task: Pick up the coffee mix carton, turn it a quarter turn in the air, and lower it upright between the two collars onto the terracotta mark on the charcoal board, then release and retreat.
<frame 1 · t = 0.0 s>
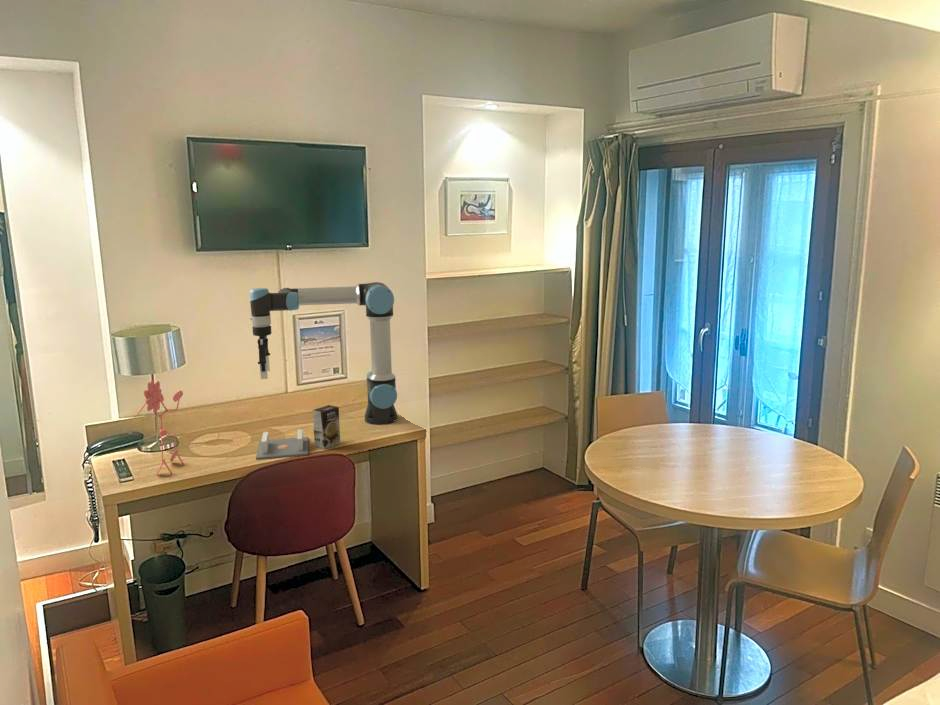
hand: (265, 374, 290), 28 cm above the table, fingers open, 13 cm apart
figurine: (161, 469, 263), on the table
collar base: (283, 448, 283), on the table
coffee box: (327, 445, 287), on the table
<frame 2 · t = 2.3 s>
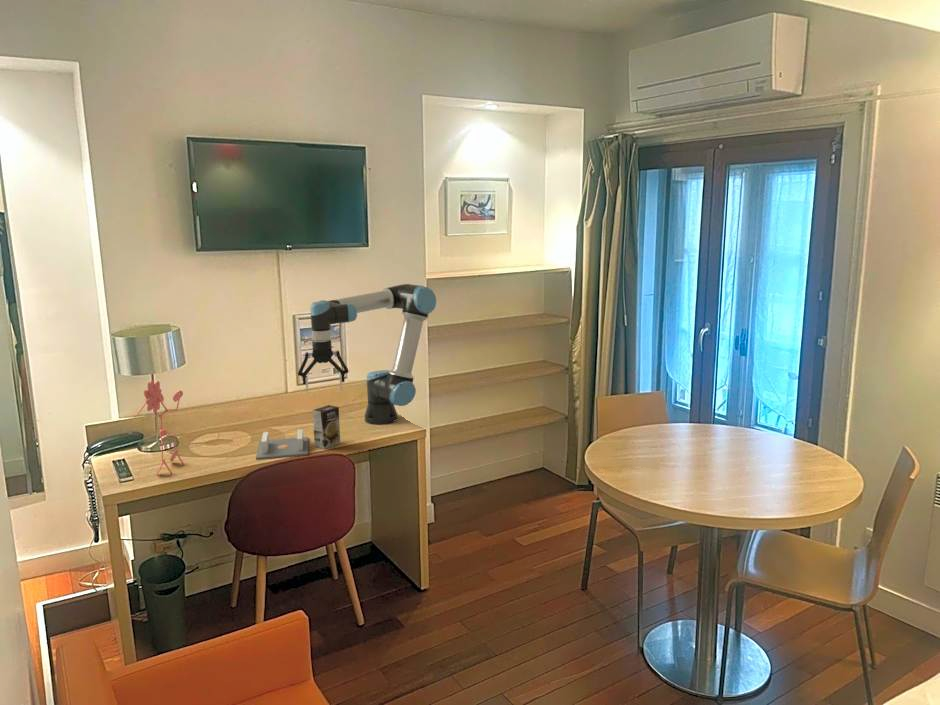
hand: (324, 390, 281), 24 cm above the table, fingers open, 13 cm apart
nothing on the table moved.
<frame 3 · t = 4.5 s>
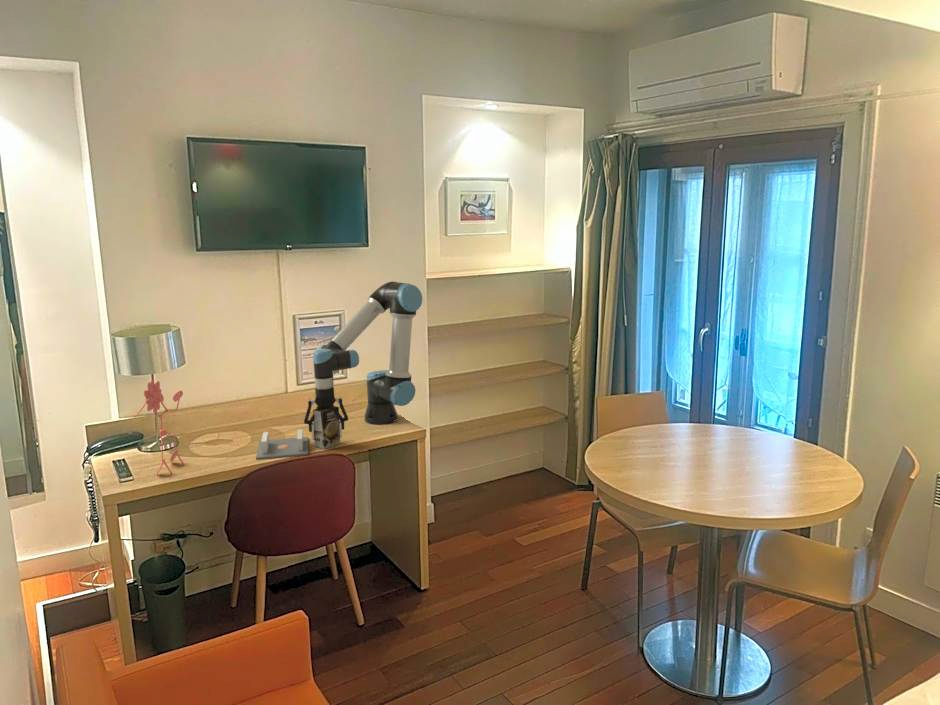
hand: (327, 437, 286), 3 cm above the table, fingers closed on coffee box, 11 cm apart
coffee box: (327, 445, 287), on the table, touching gripper
everything else where it was.
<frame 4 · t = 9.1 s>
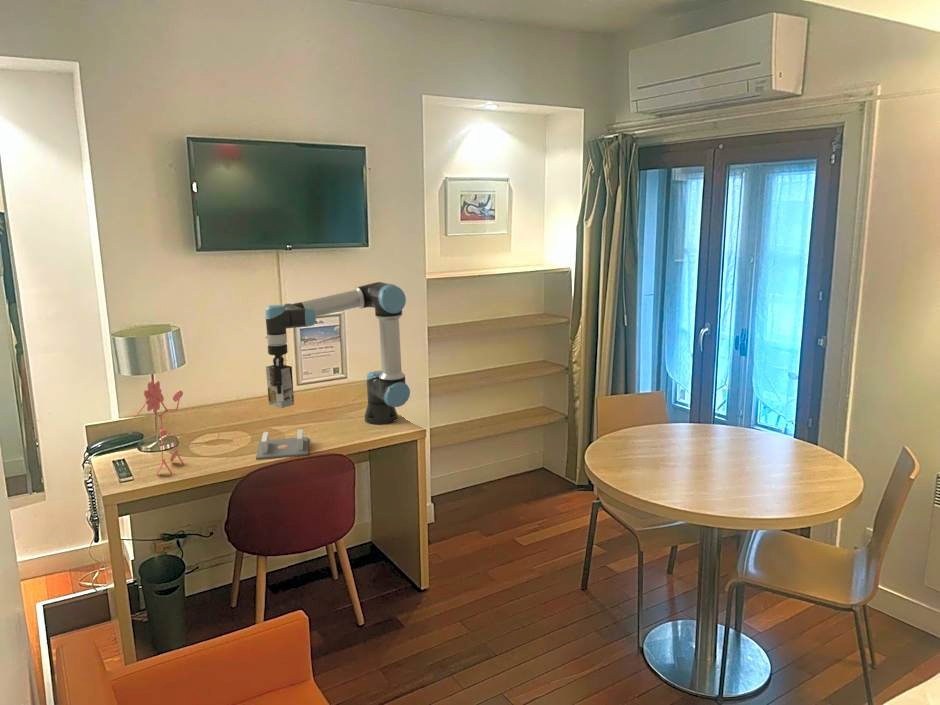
hand: (280, 397, 278), 22 cm above the table, fingers closed on coffee box, 11 cm apart
coffee box: (281, 405, 279), point 19 cm above the table, touching gripper
everything else where it was.
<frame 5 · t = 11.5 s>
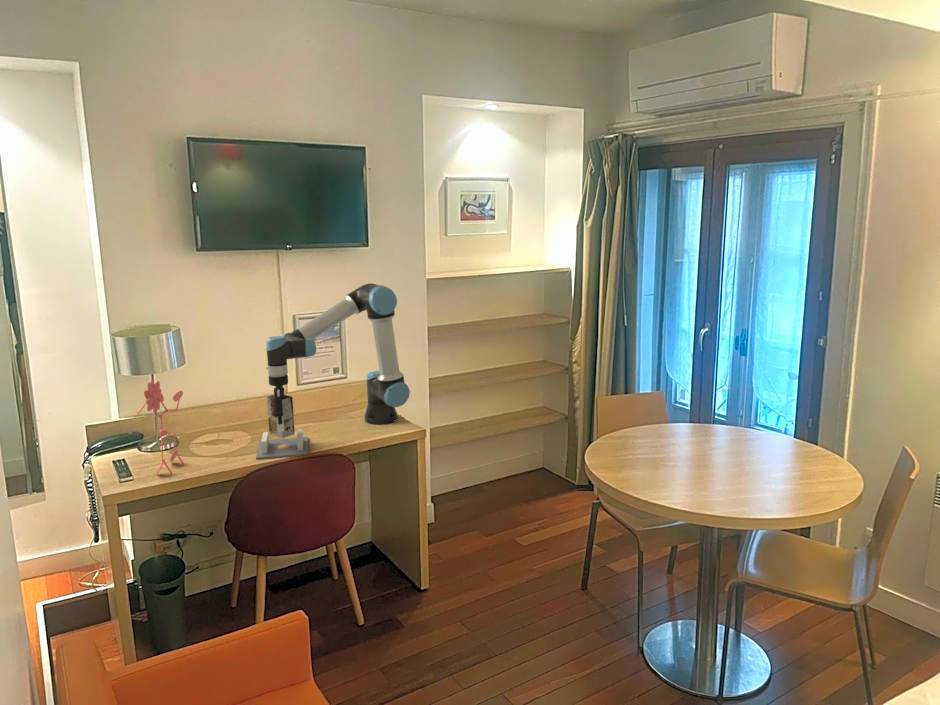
hand: (281, 426, 281), 9 cm above the table, fingers closed on coffee box, 11 cm apart
coffee box: (282, 434, 282), point 6 cm above the table, touching gripper
everything else where it was.
when the fingers open (5 cm above the table, at t = 13.5 s): coffee box stays where it is, resting on collar base.
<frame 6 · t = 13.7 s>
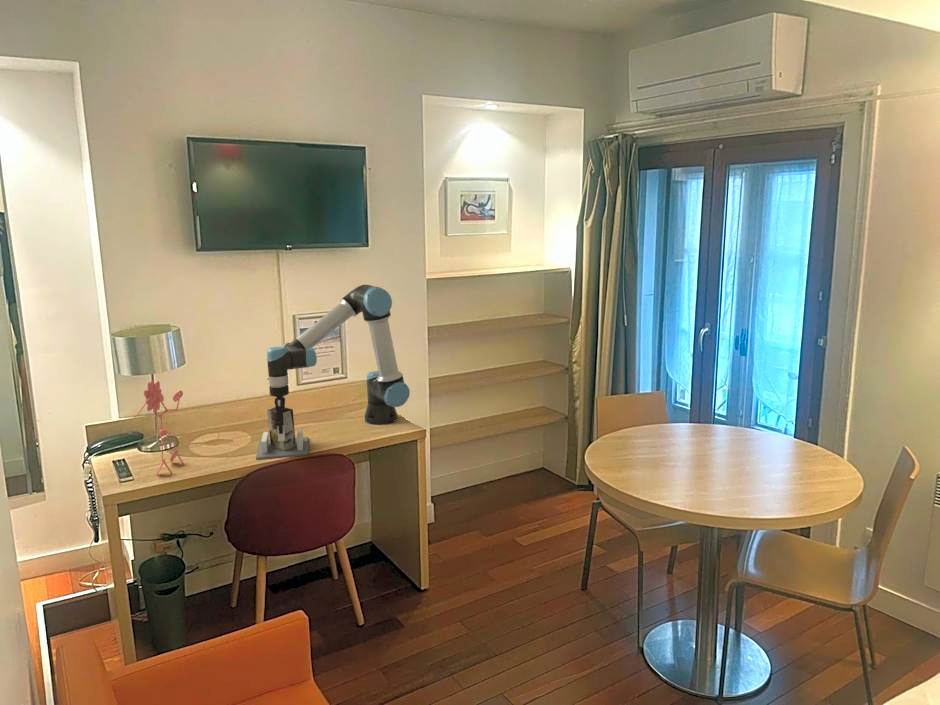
hand: (282, 435, 282), 6 cm above the table, fingers open, 13 cm apart
coffee box: (283, 446, 283), point 1 cm above the table, touching collar base
everything else where it was.
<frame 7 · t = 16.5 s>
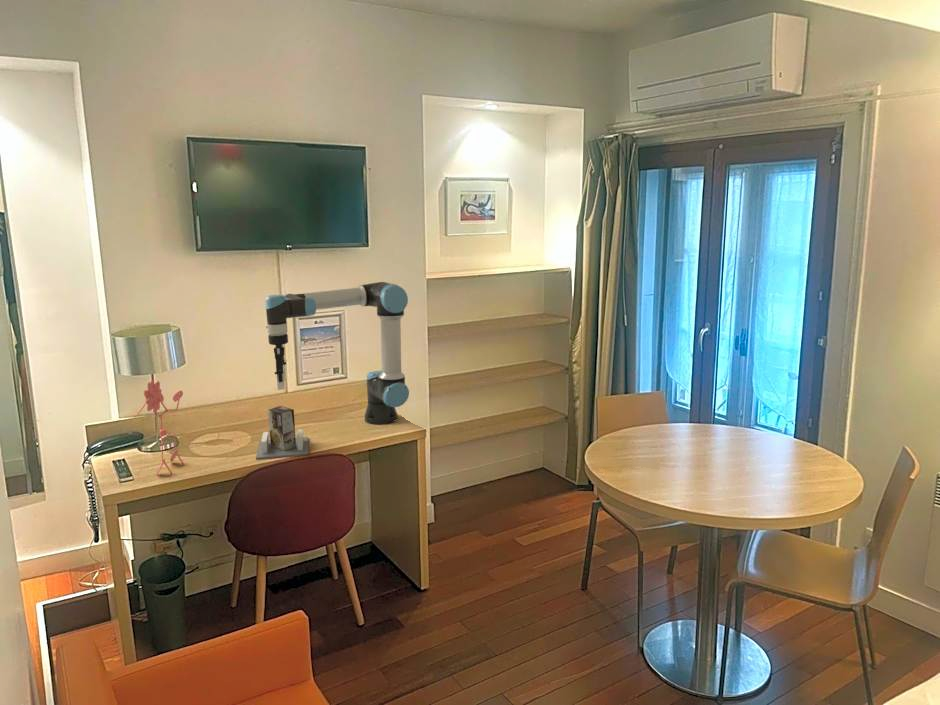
hand: (281, 385, 279), 27 cm above the table, fingers open, 13 cm apart
nothing on the table moved.
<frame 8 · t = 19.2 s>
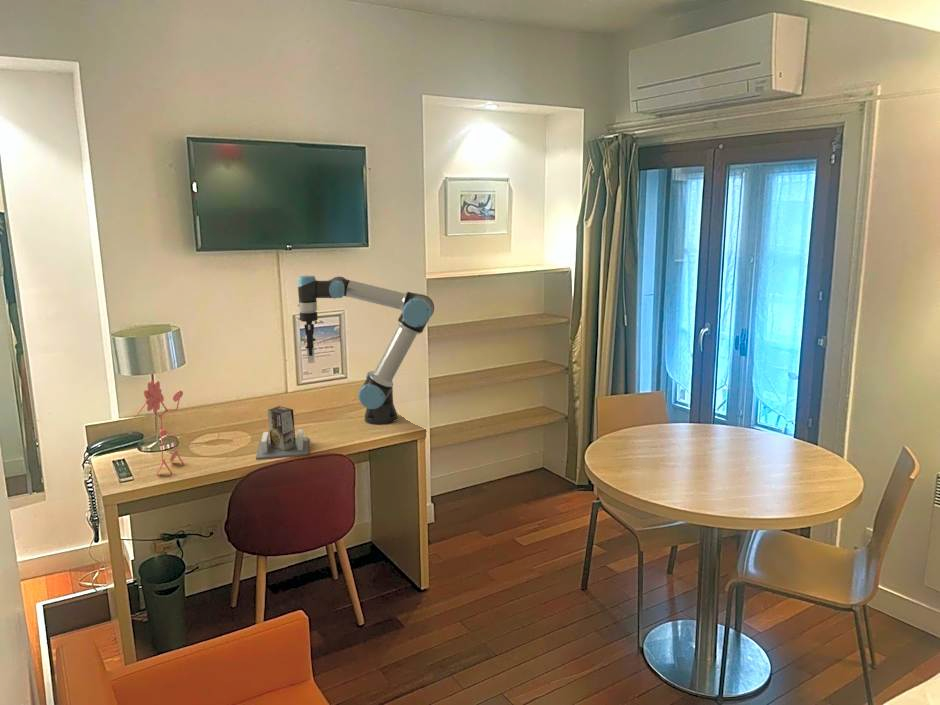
hand: (311, 359, 302), 32 cm above the table, fingers open, 13 cm apart
nothing on the table moved.
at the end: coffee box 0.1 cm off-centre on the collar base, point 0.7 cm above the collar base's base; coffee box tilted 1°; the gripper is holding nothing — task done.
